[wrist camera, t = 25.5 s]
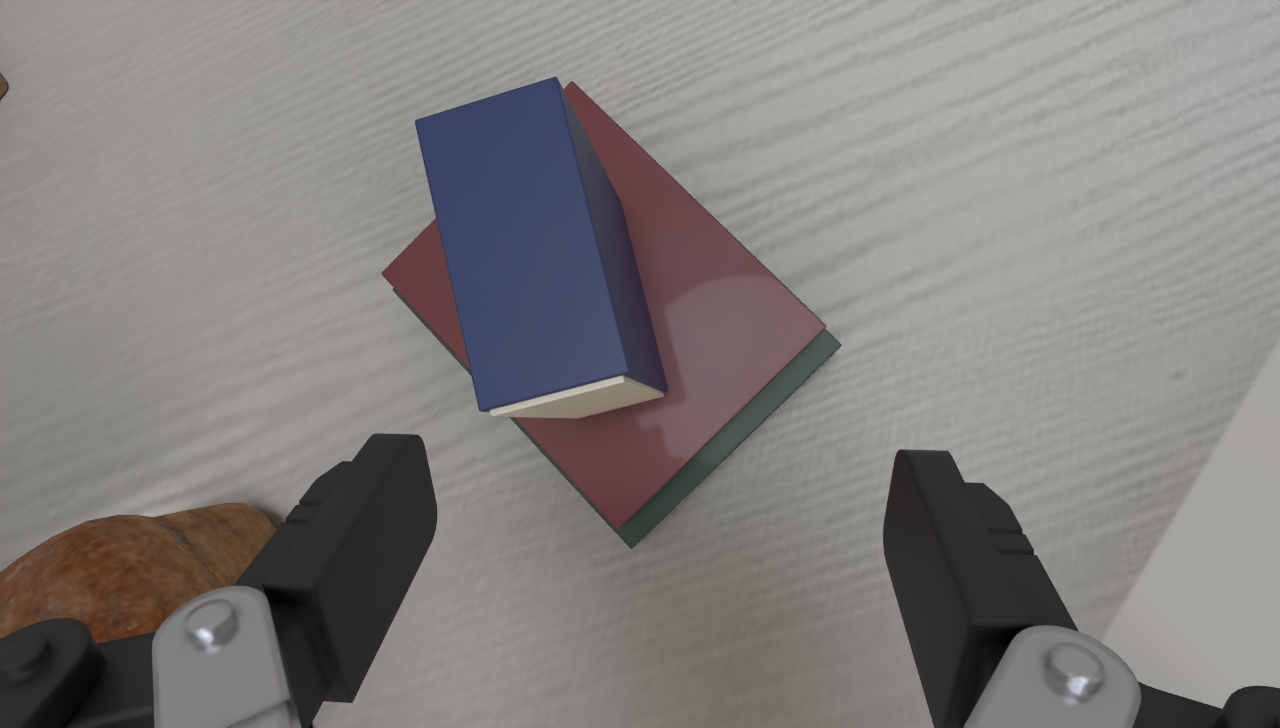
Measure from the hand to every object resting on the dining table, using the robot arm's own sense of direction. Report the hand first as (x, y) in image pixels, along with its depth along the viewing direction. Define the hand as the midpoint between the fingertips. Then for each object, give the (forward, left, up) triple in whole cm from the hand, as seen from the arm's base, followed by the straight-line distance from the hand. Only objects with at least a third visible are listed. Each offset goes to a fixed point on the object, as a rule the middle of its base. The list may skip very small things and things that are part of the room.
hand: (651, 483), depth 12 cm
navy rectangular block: (+8, -1, -20) cm, 21 cm away
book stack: (+8, -1, -26) cm, 27 cm away
